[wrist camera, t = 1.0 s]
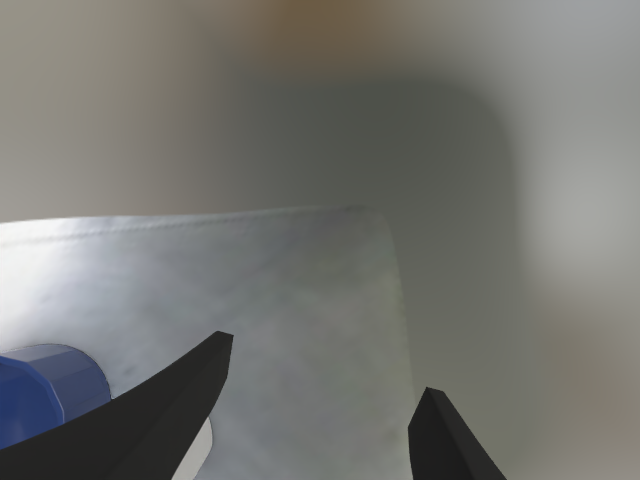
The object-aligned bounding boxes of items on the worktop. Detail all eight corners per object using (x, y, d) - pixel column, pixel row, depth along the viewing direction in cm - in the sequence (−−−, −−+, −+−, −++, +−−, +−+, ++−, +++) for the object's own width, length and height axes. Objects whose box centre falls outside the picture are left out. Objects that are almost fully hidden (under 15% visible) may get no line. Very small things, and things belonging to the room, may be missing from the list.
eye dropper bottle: (155, 460, 24) (4, 632, 12) (161, 383, 24) (28, 469, 13) (212, 459, 24) (122, 626, 12) (217, 382, 25) (136, 466, 13)
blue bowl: (81, 504, 23) (23, 561, 18) (-56, 471, 23) (-151, 518, 18) (130, 361, 25) (89, 377, 20) (3, 329, 25) (-69, 339, 20)
